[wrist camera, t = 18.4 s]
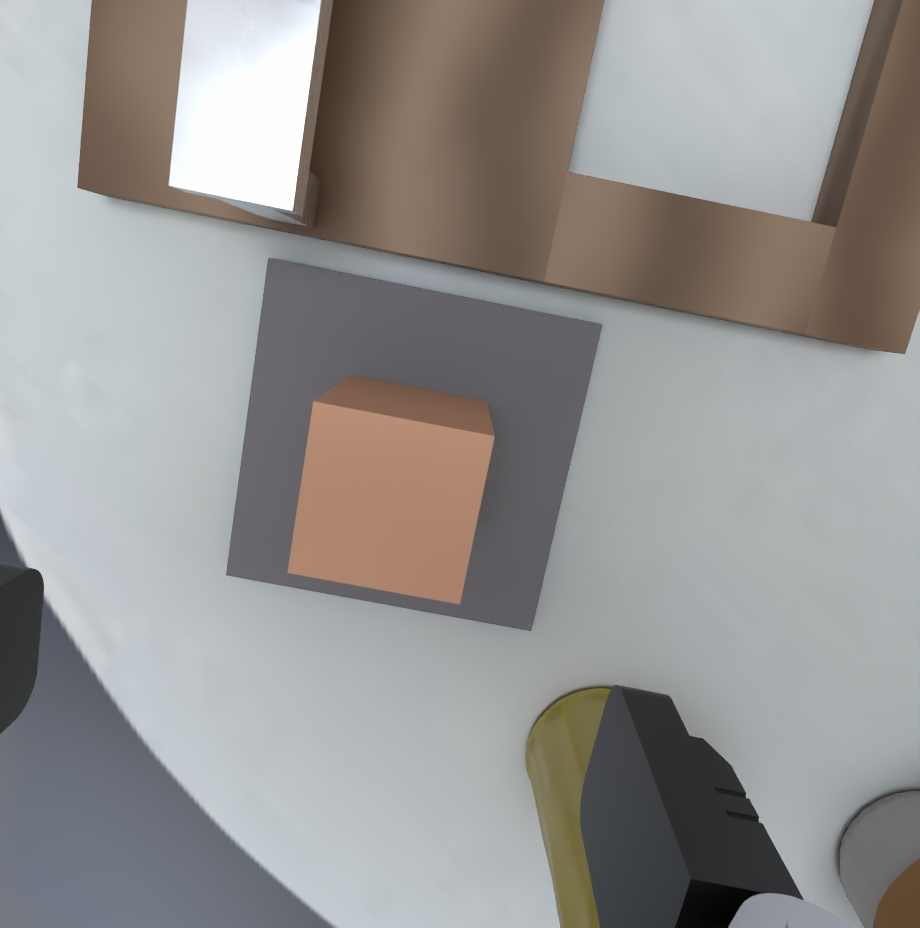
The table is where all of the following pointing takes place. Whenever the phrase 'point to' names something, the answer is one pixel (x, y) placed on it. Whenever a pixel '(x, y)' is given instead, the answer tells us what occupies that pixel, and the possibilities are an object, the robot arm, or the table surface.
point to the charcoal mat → (427, 367)
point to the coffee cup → (884, 862)
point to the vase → (566, 797)
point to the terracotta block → (392, 488)
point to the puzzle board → (541, 164)
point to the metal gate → (251, 104)
